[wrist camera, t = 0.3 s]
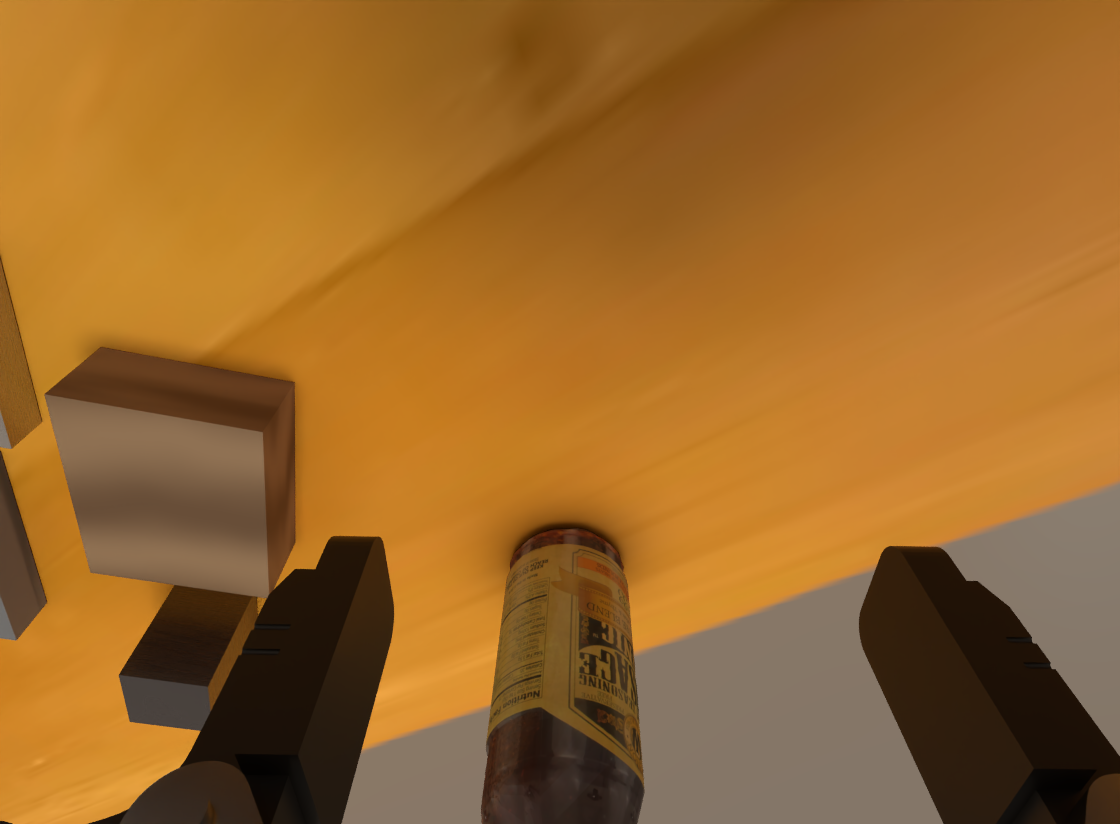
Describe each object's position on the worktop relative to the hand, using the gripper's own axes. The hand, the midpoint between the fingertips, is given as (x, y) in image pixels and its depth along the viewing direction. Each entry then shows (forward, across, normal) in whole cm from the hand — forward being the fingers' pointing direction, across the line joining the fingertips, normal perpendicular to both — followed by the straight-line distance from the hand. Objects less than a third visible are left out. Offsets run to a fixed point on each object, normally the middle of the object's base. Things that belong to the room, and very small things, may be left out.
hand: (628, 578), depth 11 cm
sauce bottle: (+18, +1, +17) cm, 25 cm away
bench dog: (+18, +20, +21) cm, 34 cm away
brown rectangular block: (+18, +18, +10) cm, 27 cm away
